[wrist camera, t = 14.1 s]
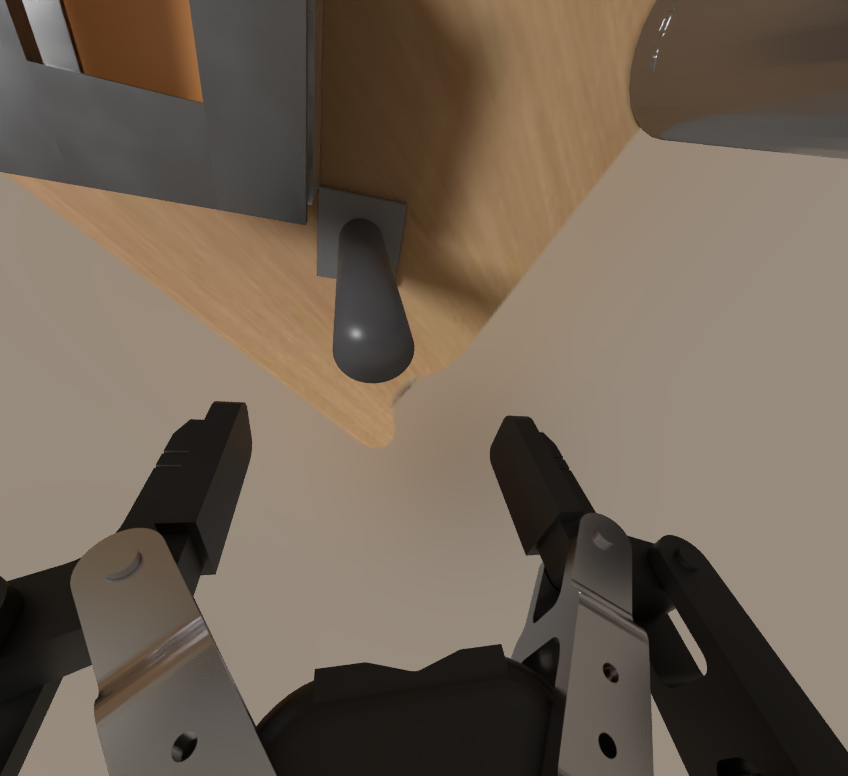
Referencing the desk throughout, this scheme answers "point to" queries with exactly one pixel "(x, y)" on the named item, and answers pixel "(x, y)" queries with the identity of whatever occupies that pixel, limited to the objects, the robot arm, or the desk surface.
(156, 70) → the button
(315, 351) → the desk surface
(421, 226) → the desk surface
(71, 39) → the grey boxy frame
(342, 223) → the pad
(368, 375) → the handle
